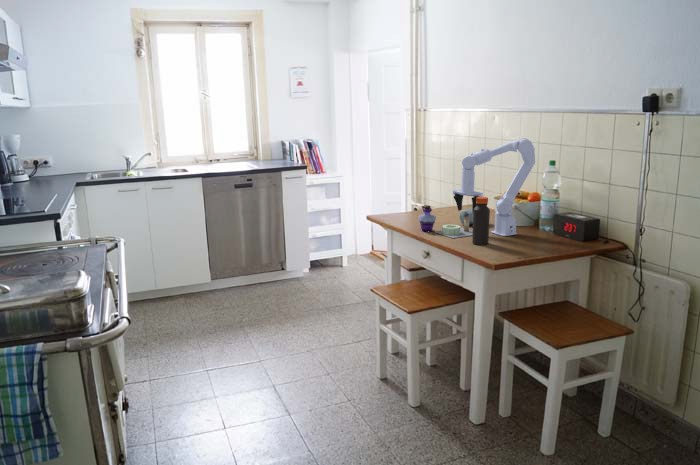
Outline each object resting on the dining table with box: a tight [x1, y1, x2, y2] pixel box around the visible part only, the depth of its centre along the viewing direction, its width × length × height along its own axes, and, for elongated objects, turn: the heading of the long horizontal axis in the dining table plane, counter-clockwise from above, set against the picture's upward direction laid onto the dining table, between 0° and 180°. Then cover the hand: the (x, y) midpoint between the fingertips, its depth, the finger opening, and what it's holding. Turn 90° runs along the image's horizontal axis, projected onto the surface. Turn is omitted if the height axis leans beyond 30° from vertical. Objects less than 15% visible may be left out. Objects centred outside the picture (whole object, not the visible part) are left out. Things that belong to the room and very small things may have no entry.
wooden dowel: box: [463, 217, 470, 232], centre depth 267 cm, size 2×2×7 cm
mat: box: [434, 227, 473, 239], centre depth 266 cm, size 14×16×1 cm
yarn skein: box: [459, 207, 473, 226], centre depth 283 cm, size 14×10×10 cm
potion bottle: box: [418, 204, 437, 233], centre depth 271 cm, size 9×9×12 cm
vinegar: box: [471, 196, 491, 246], centre depth 245 cm, size 7×7×20 cm
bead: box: [441, 224, 461, 235], centre depth 265 cm, size 8×8×3 cm
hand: (467, 211), depth 266 cm, fingers open, 7 cm apart
